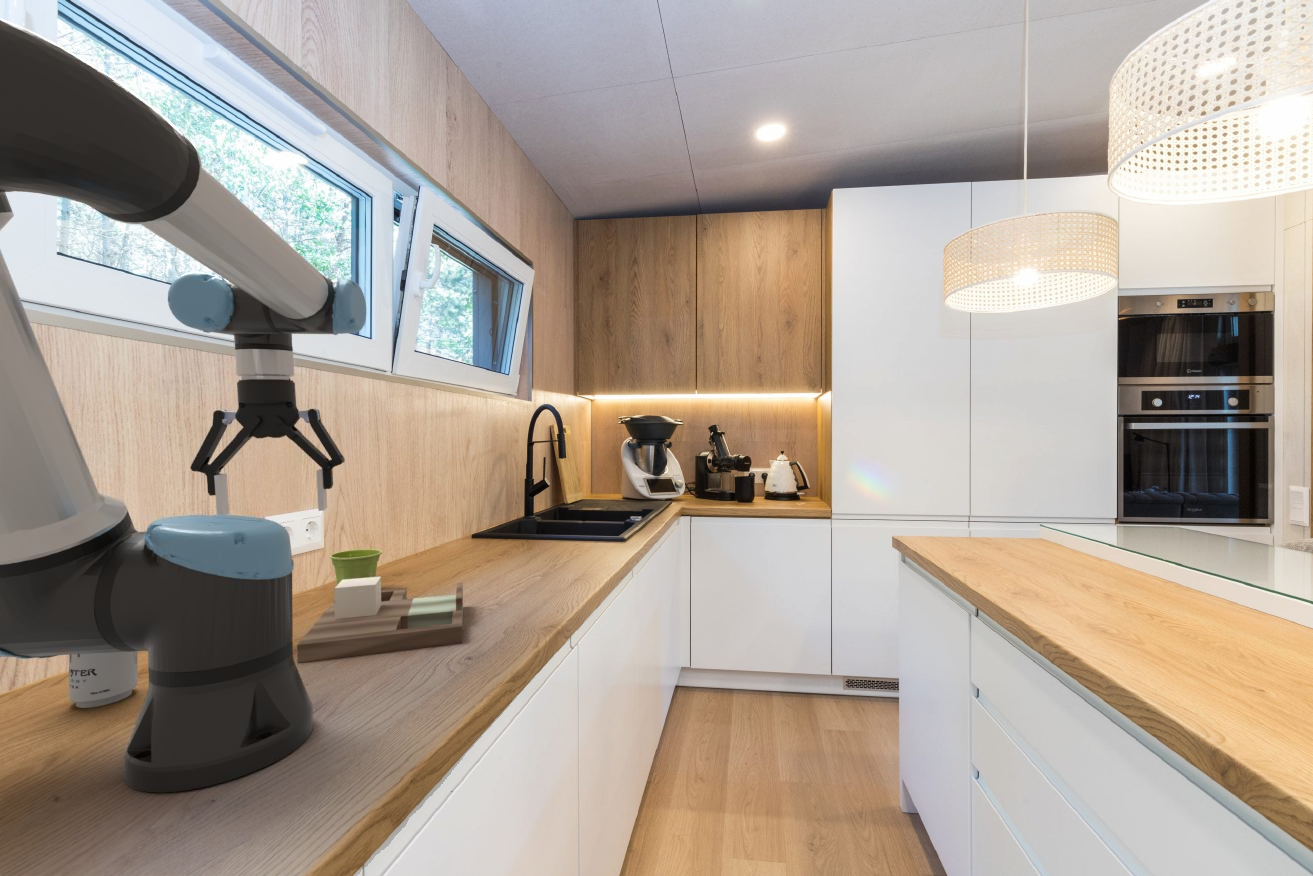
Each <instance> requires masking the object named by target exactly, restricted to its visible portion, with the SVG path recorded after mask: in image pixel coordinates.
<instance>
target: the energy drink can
mask: <svg viewBox="0 0 1313 876" xmlns="http://www.w3.org/2000/svg"><path fill="white" fill-rule="evenodd" d="M138 664H139V663H138V651H133V652H112V653H91V654H71V655H68V686H69V688H68V695H69V696H68V697H69V701H71V702H73V703H75V706H76V707H77V708H81V709H89V708H96V707H97V708H98V707H102V706H106V705H110V704H113V703H116V702H119V701H122V700H124V699H126V698H128V697H129V696H131V695H132V694H133V689H134V688H136V687H137V686H138V683H139V682H138V681H139V679H138V677H139V673H138V672H139V671H138V670H139V669H138Z"/></svg>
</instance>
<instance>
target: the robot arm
mask: <svg viewBox="0 0 1313 876" xmlns="http://www.w3.org/2000/svg"><path fill="white" fill-rule="evenodd" d="M10 192H11V193H13V192H18V193H19V192H21V193H22V192H23V193H24V192H25V193H32V194H41V195H46V196H53V197H59V198H63V199H66V200H71V201H74V202H78V203H82V204H84V205H87V206H89V208H90V207H91V208H92V209H93V210H96V212H98V213H101V215H102V216H105V217H106V218H109V219H111V220H114V221H117V222H120V223H124V224H130V225H141V226H143V227H144V228H146V229H148V230H149V231H150V232H152V233H153V234H155V235H157V236H158V237H159V238H161V239H162V240H165V241H166V242H168V243H169V244H170V245H172V246H174V247H175V248H177V249H178V250H180V251H181V252H182V253H184V254H186V255H187V256H189V257H191V258H192V259H194V260H195V261H197V262H199V263H200V264H201V265H203V266H205V267H207V268H208V269H209V270H210V271H212V272H214V273H211V272H209V273H205V272H202V271H191V272H186V273H184V274H182V275H180V276H178V277H177V278H175V279H174V280H173V282H172V283H171V285H170V286H169V288H168V291H167V292H168V293H167V302H168V307H169V310H170V311H171V312H170V313H171V314H172V315H173V317H174V318H175V319H176V320H177V321H179V322H180V323H181V324H182V325H184V326H186V327H189V328H192V329H194V330H198V331H202V332H203V333H206V334H209V333H213V334H214V333H216V334H221V335H222V334H223V335H228V336H233V340H234V356H235V358H234V359H235V374H236V376H238V377H241V379H239V380H238V381H237V382H236V387H237V390H236V391H237V404H238V407H237V410H236V411H230V410H229V411H227V410H226V409H217V410H215V411H213V414H212V425H211V427H210V429H209V430H208V432H207V434H206V436H205V438H204V440H203V442H202V443H201V446H200V447H199V449H198V452H197V454H196V455H195V456H194V459H193V460H192V463H191V465H190V471H192V472H198V473H202V474H204V475H205V476H206V483H207V486H206V487H207V493H208V495H209V497H210V496H215V508H216V514H211V515H206V514H189V515H187V514H186V515H175V516H169V517H163V518H159V519H156V520H153V521H152V522H150V523H149V525H148V526H147V529H146V530H145V531H138V530H136V528H135V525H134V523H133V520H132V518H131V515H130V512H129V510H128V508H127V505H126V503H125V502H123V501H122V500H120V499H118V498H115V497H112V496H108V495H105V494H103V493H101V492H98V489H97V486H96V484H95V481H94V479H93V476H92V474H91V472H90V468H89V466H88V464H87V461H86V459H85V456H84V454H83V451H82V449H81V446H80V444H79V441H78V439H77V436H76V434H75V431H74V429H73V427H72V424H71V422H70V420H69V417H68V415H67V411H66V409H65V407H64V404H63V402H62V399H61V396H60V394H59V391H58V389H57V387H56V385H55V384H56V383H55V381H54V379H53V377H52V374H51V372H50V370H49V367H48V364H47V362H46V360H45V357H44V355H43V352H42V350H41V348H40V345H39V342H38V340H37V337H36V334H35V332H34V330H33V327H32V325H31V322H30V320H29V317H28V315H27V313H26V310H25V307H24V305H23V303H22V300H21V297H20V295H19V292H18V290H17V288H16V285H15V282H14V280H13V278H12V274H11V273H10V270H9V268H8V266H7V263H6V260H5V257H4V255H3V253H2V250H1V249H0V658H1V657H2V658H5V657H6V658H18V659H25V660H26V659H46V658H47V659H48V658H54V657H58V656H66V655H68V656H69V655H71V654H91V653H112V652H133V651H137V652H143V651H145V652H147V658H148V659H147V660H148V690H147V693H146V696H145V698H144V701H143V703H142V706H141V709H140V711H139V714H138V717H137V720H136V721H135V722H136V723H135V725H134V727H133V730H132V733H131V736H130V738H129V741H128V744H127V746H126V749H125V753H124V761H123V762H124V781H125V783H126V785H128V786H129V787H130V788H132V789H134V790H137V791H141V792H147V793H148V792H149V793H173V792H176V793H177V792H183V791H189V790H196V789H200V788H205V787H209V786H213V785H217V784H222V783H224V782H228V781H231V780H234V779H238V778H240V777H243V776H246V775H248V774H252V773H254V772H256V771H258V770H261V769H263V768H265V767H267V766H269V765H271V764H273V763H276V762H278V761H280V760H281V759H282V758H284V757H286V756H288V755H289V754H291V753H293V752H294V751H295V750H296V749H298V748H300V747H301V746H302V744H303V743H305V742H306V741H307V740H308V739H309V737H310V735H311V734H312V732H313V729H314V708H313V704H312V700H311V698H310V696H309V693H308V691H307V689H306V687H305V684H304V682H303V679H302V676H301V674H300V672H299V669H298V667H297V665H296V662H295V660H294V651H293V650H294V646H293V634H294V633H293V631H294V630H293V626H294V625H293V623H294V622H293V617H294V616H293V613H294V612H293V570H294V567H295V566H294V565H295V563H294V560H293V554H292V546H291V537H290V534H289V532H288V530H287V529H286V528H285V527H284V526H283V525H281V524H279V523H278V522H277V521H274V520H270V519H268V518H267V519H266V518H261V517H255V516H247V515H246V516H245V515H233V514H230V505H229V503H230V502H229V490H228V489H229V488H228V474H227V472H222V470H223V468H225V466H226V465H227V464H228V463H229V462H230V461H231V460H232V459H233V458H234V457H235V455H237V454H238V452H239V451H240V450H241V449H242V448H243V447H244V446H245V445H246V443H248V441H250V440H251V439H252V438H255V439H265V438H272V439H280V438H284V437H287V438H288V439H289V440H291V441H292V442H293V443H295V444H296V445H297V447H298V448H299V449H301V450H302V451H303V453H305V454H306V455H307V456H308V457H310V459H312V460H313V461H314V462H315V463H316V464H317V465H318V466H319V467H320V468H319V469H316V473H315V474H316V488H317V489H316V490H317V505H318V506H317V508H318V512H319V511H325V510H326V509H327V508H328V497H327V496H328V495H327V494H328V493H327V490H331V489H332V488H333V486H334V476H333V469H334V468H335V467H338V466H339V465H342V464H343V463H345V457H344V456H343V453H342V452H341V451H340V450H339V448H338V446H337V445H336V442H334V439H333V438H332V437H331V435H330V433H329V432H328V430H327V429H326V427H325V425H324V423H322V417H321V414H320V410H319V409H318V408H309V409H308V410H299V408H298V407H297V398H296V397H297V396H296V395H297V394H296V382H294V380H291V377H294V376H295V361H294V347H293V335H298V334H299V335H300V334H301V335H334V336H338V335H339V334H341V335H343V334H356V333H358V332H360V331H362V329H364V326H365V324H366V322H367V303H366V297H365V294H364V292H363V290H362V288H361V286H360V285H359V284H358V282H356V281H355V280H351V279H342V278H338V277H335V278H327V277H326V276H324V274H322V272H320V270H318V269H317V268H316V267H315V266H314V265H312V264H311V263H310V262H309V261H308V260H307V259H306V258H304V257H303V255H302V254H300V253H299V252H298V251H297V250H296V249H294V248H293V247H292V246H291V245H290V244H289V243H288V242H287V241H286V240H284V238H282V237H281V236H280V235H279V234H278V233H277V232H276V231H274V230H273V229H272V228H271V227H270V226H269V225H268V224H266V222H265V221H263V220H262V219H261V218H260V217H259V216H258V215H257V214H256V213H255V212H254V211H252V210H251V209H250V208H249V207H248V206H247V205H246V204H245V203H244V202H242V201H241V200H240V199H239V198H238V197H236V196H235V194H233V193H232V192H231V191H230V190H229V189H228V188H226V187H225V186H224V185H223V184H222V183H221V182H220V181H219V180H218V179H217V178H216V177H214V176H213V174H211V173H210V172H209V171H207V170H206V168H204V167H203V165H202V160H201V156H200V153H199V151H198V150H197V147H196V146H195V145H194V144H193V142H192V141H191V139H189V138H188V136H186V134H184V133H183V132H182V131H181V130H180V129H179V128H178V127H177V126H175V125H174V124H173V122H171V121H170V119H168V118H167V117H166V116H164V115H163V114H162V113H161V112H160V111H158V110H157V109H156V108H155V107H153V106H152V105H151V104H150V103H149V102H147V101H146V100H145V99H143V98H142V97H141V96H140V95H138V94H137V93H136V92H135V91H133V90H131V89H130V88H129V87H127V86H126V85H125V84H123V83H121V82H120V81H119V80H117V79H115V78H114V77H112V76H111V75H109V74H108V73H106V72H104V71H103V70H101V69H100V68H99V67H97V66H95V65H93V64H92V63H90V62H89V61H86V60H85V59H83V58H81V57H80V56H78V55H77V54H75V53H73V52H71V51H70V50H68V49H66V48H65V47H63V46H62V45H59V44H57V43H55V42H53V41H51V40H50V39H47V38H45V37H43V36H41V35H39V34H37V33H35V32H33V31H31V30H29V29H27V28H24V27H21V26H19V25H18V24H15V23H12V22H10V21H8V20H5V19H3V18H1V17H0V231H1V230H2V229H3V228H4V227H5V226H6V225H7V224H8V223H9V222H10V221H11V220H12V219H13V217H14V216H15V215H14V213H13V212H14V211H13V209H12V207H11V204H10V201H9V199H8V197H7V194H6V193H10ZM300 419H303V420H304V422H305V423H307V424H310V427H311V429H312V430H313V432H314V434H315V435H316V437H317V439H318V440H319V442H320V443H321V445H322V446H323V448H324V449H325V451H326V452H327V454H328V455H329V457H330V459H329V458H328V457H327V456H326V455H325V454H324V453H323V452H322V451H320V449H319V448H317V447H316V445H314V444H313V443H312V442H311V441H310V440H309V439H308V438H307V437H306V436H305V435H304V434H303V433H302V431H300V430H299V429H298V428H297V427H296V426H295V425H296V424H297V423H298V421H299V420H300ZM234 420H236V421H237V422H238V423H239V425H241V426H242V428H241V429H240V430H239V431H238V432H237V434H235V437H234V438H233V439H232V440H231V441H230V442H229V443H228V445H226V446H225V448H224V449H223V450H222V451H221V452H220V453H219V454H218V455H217V457H215V458H214V460H212V462H211V463H210V460H211V458H212V457H213V455H214V453H215V452H216V450H217V447H218V445H219V443H220V441H221V440H222V438H223V436H224V434H225V432H226V431H227V427H228V426H229V425H231V424H232V423H233V421H234ZM209 463H210V464H209ZM221 472H222V473H221Z"/></svg>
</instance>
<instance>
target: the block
mask: <svg viewBox="0 0 1313 876" xmlns="http://www.w3.org/2000/svg"><path fill="white" fill-rule="evenodd" d="M381 590H382V576H375V577H369V578H357V579H345V580H342V581H341V582H340V583H339V584H338V585H336V586H335V587H334V601H335V619H341V618H351V617H360V616H370V615H376V614H377V612H378V610H379V608H380V607H381Z"/></svg>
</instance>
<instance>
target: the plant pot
mask: <svg viewBox="0 0 1313 876" xmlns="http://www.w3.org/2000/svg"><path fill="white" fill-rule="evenodd" d="M382 554H383V552H382V550H380V549H375V548H374V549H372V548H364V549H363V548H361V549H349V550H342V551H338V552H333V553H331V554H330V555H329V559H330V560H331V562H332V565H333V567H334V572H335V578H336V584H337V585H338V584H339V583H340V582H341V581H342V580H345V579H357V578H369V577H377V575H376V574H377V570H378V569H377V567H378V562H379V560H380V556H381V555H382ZM337 585H336V586H337Z"/></svg>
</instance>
